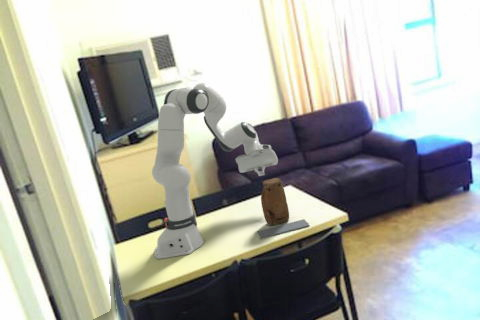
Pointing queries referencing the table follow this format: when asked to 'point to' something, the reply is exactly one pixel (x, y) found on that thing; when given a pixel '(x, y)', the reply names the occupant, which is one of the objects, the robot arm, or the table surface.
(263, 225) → the table surface
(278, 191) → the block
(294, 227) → the mat
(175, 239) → the robot arm
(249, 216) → the table surface
